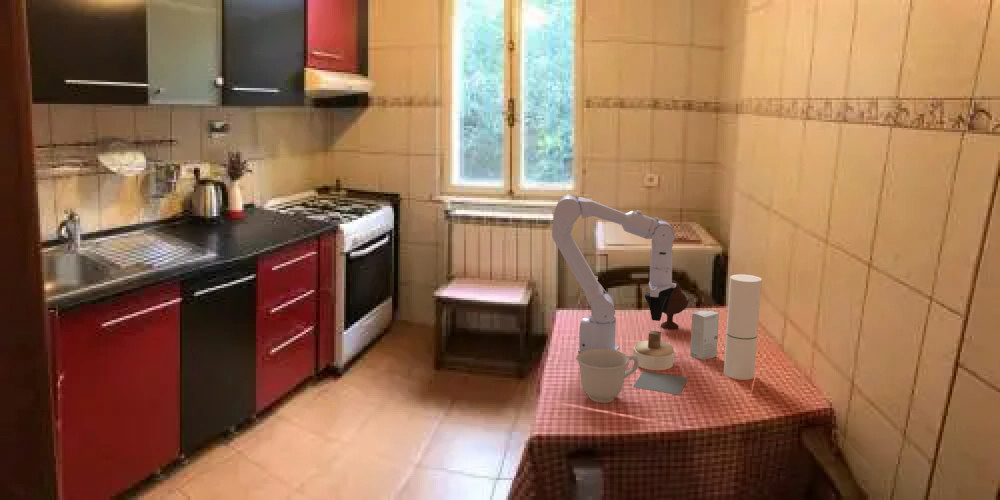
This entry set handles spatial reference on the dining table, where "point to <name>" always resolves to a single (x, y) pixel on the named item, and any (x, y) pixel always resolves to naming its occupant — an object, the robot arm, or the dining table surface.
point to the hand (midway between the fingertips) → (659, 316)
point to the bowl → (654, 361)
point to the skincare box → (704, 334)
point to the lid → (654, 345)
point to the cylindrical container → (742, 326)
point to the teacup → (604, 372)
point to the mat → (661, 382)
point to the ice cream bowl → (675, 307)
